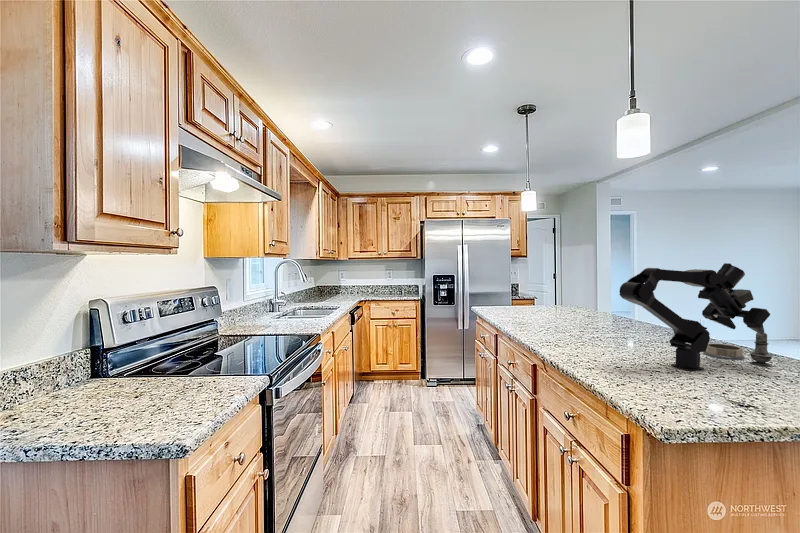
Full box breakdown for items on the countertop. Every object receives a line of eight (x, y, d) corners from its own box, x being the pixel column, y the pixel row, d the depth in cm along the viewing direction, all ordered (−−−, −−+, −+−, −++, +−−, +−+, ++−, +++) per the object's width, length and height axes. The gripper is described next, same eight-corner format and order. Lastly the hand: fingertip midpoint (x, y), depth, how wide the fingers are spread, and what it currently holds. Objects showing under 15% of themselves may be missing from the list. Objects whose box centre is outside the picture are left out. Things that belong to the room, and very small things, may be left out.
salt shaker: (762, 362, 135) (764, 327, 135) (777, 367, 129) (778, 331, 129) (744, 362, 136) (745, 327, 135) (758, 366, 130) (759, 330, 129)
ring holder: (728, 360, 137) (728, 351, 137) (695, 352, 148) (695, 344, 148) (752, 358, 140) (753, 349, 140) (719, 350, 151) (719, 342, 151)
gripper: (766, 283, 121) (795, 318, 123) (709, 279, 139) (735, 309, 141) (743, 309, 120) (773, 343, 122) (689, 302, 138) (716, 332, 140)
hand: (748, 330), depth 131 cm, fingers open, 9 cm apart
